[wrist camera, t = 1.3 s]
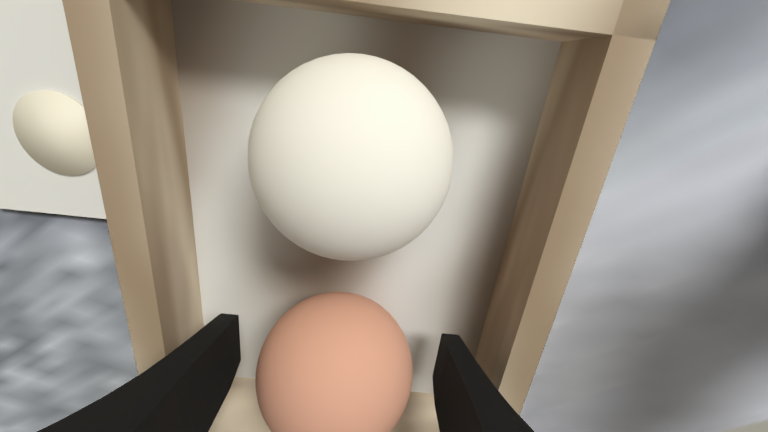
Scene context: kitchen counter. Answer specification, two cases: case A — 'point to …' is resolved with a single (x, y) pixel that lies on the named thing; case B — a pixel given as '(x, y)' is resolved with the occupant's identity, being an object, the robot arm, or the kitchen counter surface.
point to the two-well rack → (413, 261)
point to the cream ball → (350, 156)
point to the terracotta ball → (334, 367)
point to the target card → (43, 116)
